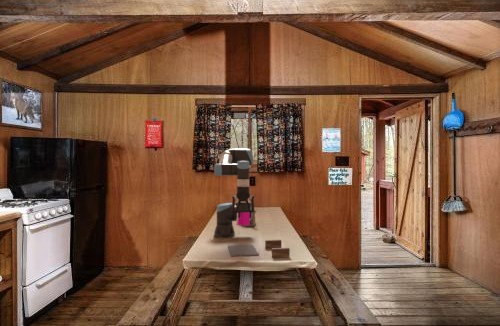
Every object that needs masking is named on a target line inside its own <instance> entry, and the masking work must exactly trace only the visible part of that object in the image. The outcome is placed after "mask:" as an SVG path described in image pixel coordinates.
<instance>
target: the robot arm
mask: <svg viewBox="0 0 500 326" xmlns="http://www.w3.org/2000/svg"><path fill="white" fill-rule="evenodd" d="M218 160H219V162H218V163H214V167H213V169H214V176H221V177H222V176H236V186H237V187H236V195H231V198H232V202H225V203H219V204H218V205H217V206H216V226H215V229H214V233H213V235H214V237H217V238H231V237H234V236H235V235H236V234H235V229H234V226H233V222H236V223H235V224H238V218H240V213H243V212H249V213H250V220H251V219H252V212H254V209H255V203H254V199H255V196H254V195H251V194H250V168H252V165H253V164H254V158H253V152H252V149H250V148H228V149H225V150H224V151H222V152H221V153H220V155H219V157H218Z"/></svg>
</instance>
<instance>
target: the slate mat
mask: <svg viewBox="0 0 500 326" xmlns="http://www.w3.org/2000/svg"><path fill="white" fill-rule="evenodd" d="M227 247H228V251H229V255H230V256H231V258H232V257H252V256H253V257H255V256H256V257H257V256H260V254H259V252H258V251H257V249H256V248H255V245H254V244H229V245H227Z"/></svg>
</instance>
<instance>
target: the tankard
mask: <svg viewBox="0 0 500 326" xmlns="http://www.w3.org/2000/svg"><path fill="white" fill-rule="evenodd" d="M256 213H257V209H256V208H254V212H252V219H251V220H250V225H241V226H243V227H254V226H256V225H257V222H256V216H255V215H256Z"/></svg>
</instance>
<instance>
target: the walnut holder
mask: <svg viewBox="0 0 500 326" xmlns="http://www.w3.org/2000/svg"><path fill="white" fill-rule="evenodd" d="M264 245H265V246H264V248H265V249H267V250H271V258H272V259H276V258H277V259H279V258H281V259H282V258H290V257H291V255H290V250H291V249H290V248H289V247H282V239H265V241H264Z"/></svg>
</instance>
